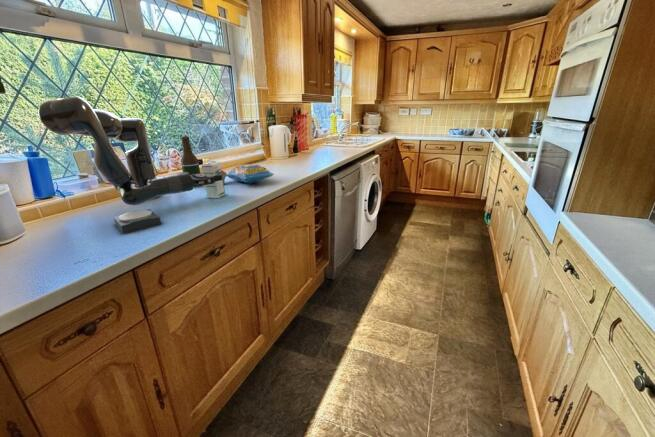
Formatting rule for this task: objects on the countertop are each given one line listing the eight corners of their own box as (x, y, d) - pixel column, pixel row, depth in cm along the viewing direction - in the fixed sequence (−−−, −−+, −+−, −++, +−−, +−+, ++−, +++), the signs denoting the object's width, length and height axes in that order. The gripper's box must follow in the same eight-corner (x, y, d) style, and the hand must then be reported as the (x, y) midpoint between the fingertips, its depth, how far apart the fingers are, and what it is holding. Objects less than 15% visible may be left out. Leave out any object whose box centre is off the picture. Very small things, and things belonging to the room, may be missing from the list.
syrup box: (218, 198, 128) (213, 164, 123) (206, 197, 129) (200, 164, 124) (225, 194, 133) (221, 161, 128) (213, 194, 134) (208, 161, 129)
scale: (115, 224, 102) (112, 215, 101) (151, 216, 109) (149, 207, 108) (123, 233, 94) (120, 223, 92) (161, 224, 101) (159, 214, 99)
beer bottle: (205, 184, 153) (197, 135, 144) (193, 188, 146) (183, 137, 138) (194, 183, 156) (185, 135, 148) (182, 187, 149) (172, 137, 141)
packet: (245, 189, 141) (243, 171, 138) (226, 181, 158) (223, 165, 155) (277, 183, 151) (276, 166, 148) (256, 176, 168) (254, 160, 165)
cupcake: (206, 185, 150) (202, 161, 146) (218, 181, 158) (214, 158, 154) (220, 186, 147) (216, 162, 143) (231, 182, 155) (228, 159, 151)
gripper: (182, 176, 113) (223, 169, 123) (170, 171, 123) (209, 165, 133) (186, 195, 115) (226, 187, 126) (173, 189, 125) (212, 182, 136)
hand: (217, 176), depth 129 cm, fingers closed on syrup box, 7 cm apart
